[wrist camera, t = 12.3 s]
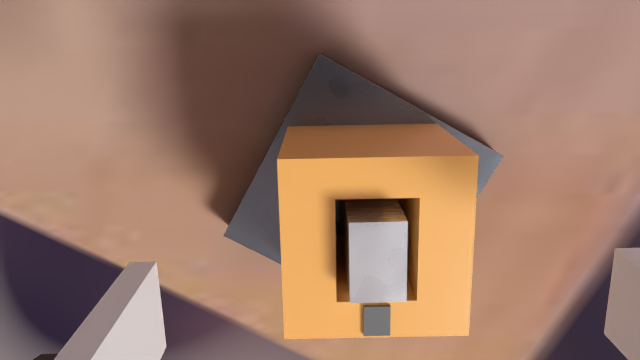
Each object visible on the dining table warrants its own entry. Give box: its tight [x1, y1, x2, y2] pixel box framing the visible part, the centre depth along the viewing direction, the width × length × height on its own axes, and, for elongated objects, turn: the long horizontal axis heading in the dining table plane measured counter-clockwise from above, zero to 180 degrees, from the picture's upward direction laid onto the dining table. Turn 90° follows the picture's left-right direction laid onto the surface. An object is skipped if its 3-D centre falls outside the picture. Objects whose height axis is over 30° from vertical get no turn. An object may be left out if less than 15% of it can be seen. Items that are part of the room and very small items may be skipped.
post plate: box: [224, 53, 503, 303], centre depth 23 cm, size 10×10×10 cm
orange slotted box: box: [277, 123, 479, 339], centre depth 23 cm, size 7×7×7 cm
